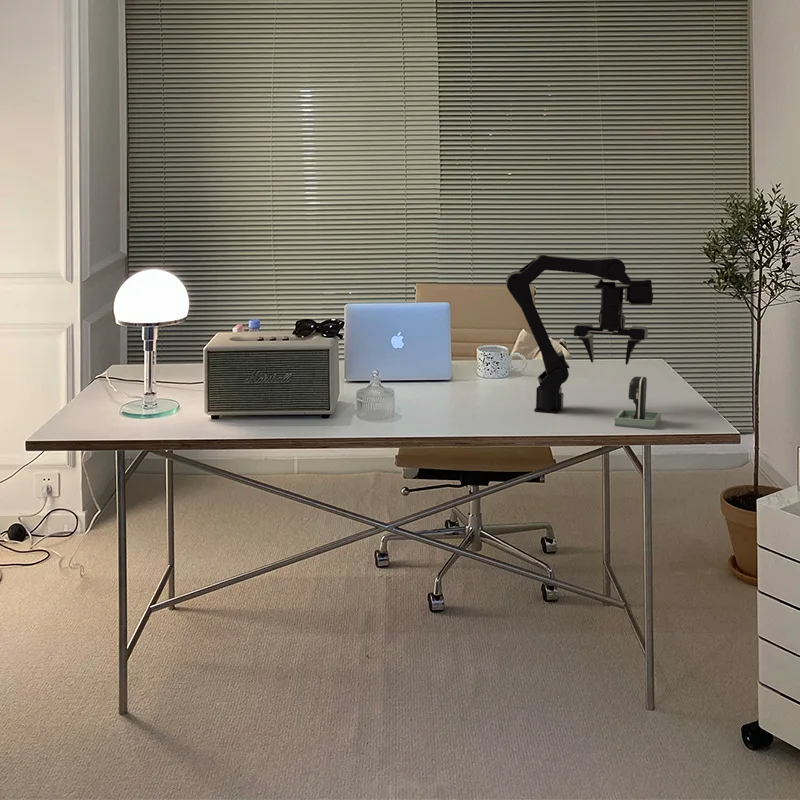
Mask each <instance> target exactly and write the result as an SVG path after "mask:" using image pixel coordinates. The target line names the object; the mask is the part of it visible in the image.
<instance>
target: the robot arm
mask: <svg viewBox="0 0 800 800" xmlns="http://www.w3.org/2000/svg"><path fill="white" fill-rule="evenodd" d="M544 271H553V272H554V271H555V272H565V273H577V274H586V275H587V274H589V275H592V276H595V277H598V278H599V280H598V281H597V282H596V283H595V284H594V285H593V287H594V288H595V289H598V290H599V289H601V291H600V292H601V293H600V311H599V313H598V323H599V326H594V325H593V323H584V322H583V323H582V322H581V323H577V325H575V326H574V329H573V336H574V337H578V338H577V339H578V340H581V341H582V343H583V345H584V347H585V349H586V351H587V354H588V357H589V359H590V363H594V361H595V359H594V358H595V357H594V356H595V353H594V352H595V351H594V335H603V336H604V335H607V336H608V335H609V336H623V337H629V339H627V345H626V351H625V365H626V366H627V365H628V364H629V362H630V359H631V357H632V355H633V351H634V349H635V347H636V345H637V344H640V343H641V342H642V341H645V340H646V339H647V338H648V337H649V334H648V333H649V330H648V328H647V326H640V325H633V326H631V327H630V328H626V327H625V325H626V316H625V315H624V314H623V312H624V311H623V309H624V308H623V307H624V305H623V304H624V301H625V302H628V304H629V306H652V304H653V300H654V292H653V286H652V285H653V284H652V279H651V278H650V279H649V278H648V279H646V278H645V279H631V277H630V276H629V275H628V274H627V272H626V266H625V262H624V261H622V260H621V259H620V258H618V257H615V256H606V257H596V258H580V257H571V256H570V257H569V256H559V255H557V256H556V255H548V254H545V253H540V254H537V256H536V257H535V258H534V259H532V260H531V261H530V262H528V263H527V264H526V265H524V266H523V267H522V268H521V269H519V270H514V271H512V272H510V273H509V274H508V275H507V277H506V279H505V284H506V289H507V290H508V291H509V293H510V295H511V296H512V298H513V299H514V301H515V302H516V303H517V304H518V306H519V307H520V309H521V311H522V312H523V316H524V318H525V320H526V322H527V324H528V327H529V329H530V331H531V333H532V336H533V338H534V340H535V343H536V344H537V347H538V349H539V351H540V354H541V359H542V362H543V366H544V371H542V373H540V374H539V375H538V377H537V380H538V383H539V386H537V387H536V393H535V394H536V395H535V396H536V399H535V408H534V409H533V411H534V412H542V413H553V414H554V413H555V414H558V413H559V412H560V411H561V410H563V408H564V393H563V391H562V389H563V387H562V385H563V384H564V383H566V382H567V381H568V379H569V375H570V372H569V370H568V369H570V368H571V367H570V365H569V363H568V362H567V360H566V358H565V354H564V352H563V351H562V350H560V351H559V352H558V351H556V349H555V347H554V346H553V344H552V341H551V339H550V337H549V335H548V333H547V330H546V328H545V326H544V323H543V321H542V319H541V317H540V314H539V312H538V309H537V308H536V306H535V303H534V299H533V295H532V291H531V286H530V284H531V283H532V282H533V281H535V280H536V279H537V278H538V277H539V276H540V275H541V274H543V273H544ZM603 279H605V280H609V281H604V280H603ZM615 281H618V282H620V283H621V284H622V285H621V284H619V285H618V284H617V285H616V282H615Z"/></svg>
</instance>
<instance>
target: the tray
mask: <svg viewBox="0 0 800 800" xmlns="http://www.w3.org/2000/svg"><path fill="white" fill-rule="evenodd" d="M635 411H636V409H633V410H632V409H621V410H620V411H619V412H618V414H617V415H616V416H615V417H614V426H615V427H623V428H636V429H648V430H656V428H657V426H658V425H659V424H660V422H661V421H660V420H661V419H662V413H661V412H659V411H657V412H656V411H647V410H645V418H644V420H641V419H631V417H632V416H633V415H634V414H635Z"/></svg>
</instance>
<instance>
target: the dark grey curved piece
mask: <svg viewBox="0 0 800 800" xmlns="http://www.w3.org/2000/svg"><path fill="white" fill-rule="evenodd" d="M647 382H648V380H647V376H644V375H643V376H633V378H632V379H630V382H629V387H628V399H629V400H632V402H633V404H634V405H635V414H634V415H633V416H632V417H631V419H641V420H644V418H645V411H646V405H647V404H646V403H647V386H648V385H647V384H648V383H647Z"/></svg>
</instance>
